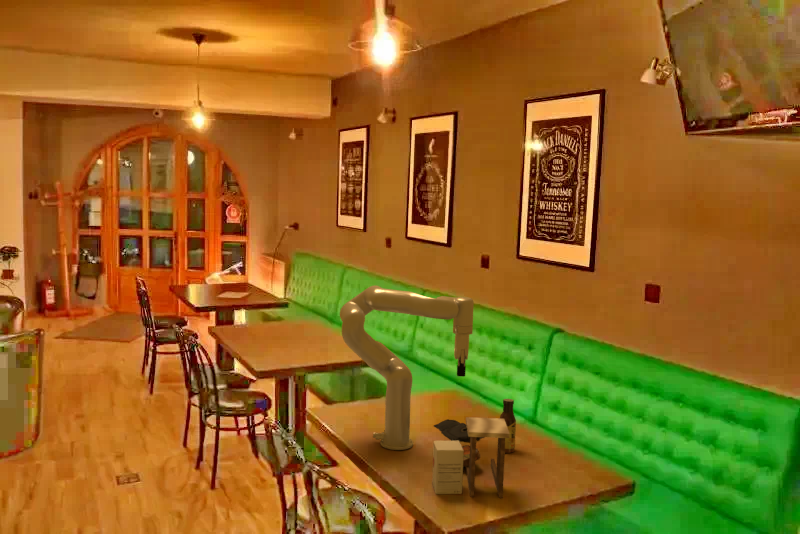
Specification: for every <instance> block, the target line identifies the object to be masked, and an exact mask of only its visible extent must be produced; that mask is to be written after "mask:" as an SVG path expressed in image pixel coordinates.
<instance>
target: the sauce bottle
mask: <svg viewBox="0 0 800 534" xmlns="http://www.w3.org/2000/svg"><path fill="white" fill-rule="evenodd" d="M514 401H515V400H514V399H512V398H503V399H502V404H503V406H502V407H503V408H502V413H501V414H500V416H499V418H500V419H504V420H505V422H506V425H507V428H508V431H509V433H510V437H509V438H505V454H510V453H512V454H513V453H514V452H515V448H516V432H517V431H516V428H517V420H516V416H515V413H514V405H515V404H514V403H515V402H514Z"/></svg>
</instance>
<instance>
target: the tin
mask: <svg viewBox="0 0 800 534" xmlns="http://www.w3.org/2000/svg"><path fill="white" fill-rule="evenodd" d="M461 446H462V448H463V450H464V456H463V468H464V467H465V466H468V465H469V458H470V444H469V445H467V444H465V445H461ZM480 458H481V453H480V452H479V449H478V448H477V447H476V460H475V462H477V461H478V460H480Z"/></svg>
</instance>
